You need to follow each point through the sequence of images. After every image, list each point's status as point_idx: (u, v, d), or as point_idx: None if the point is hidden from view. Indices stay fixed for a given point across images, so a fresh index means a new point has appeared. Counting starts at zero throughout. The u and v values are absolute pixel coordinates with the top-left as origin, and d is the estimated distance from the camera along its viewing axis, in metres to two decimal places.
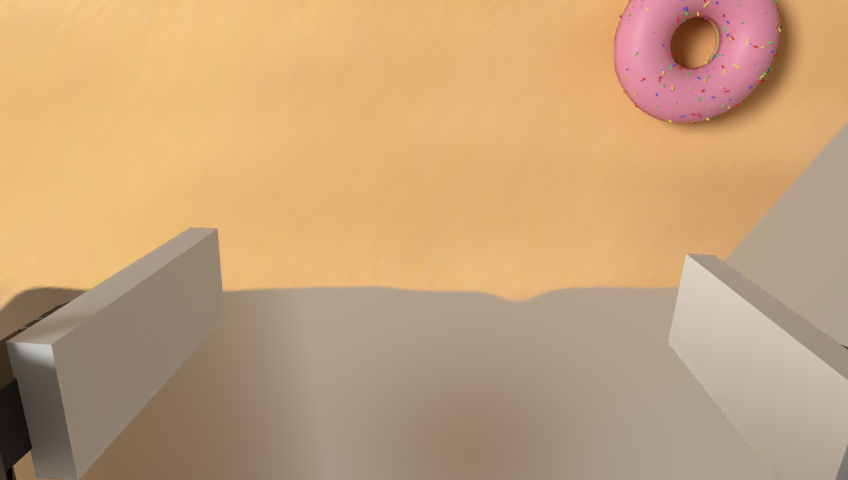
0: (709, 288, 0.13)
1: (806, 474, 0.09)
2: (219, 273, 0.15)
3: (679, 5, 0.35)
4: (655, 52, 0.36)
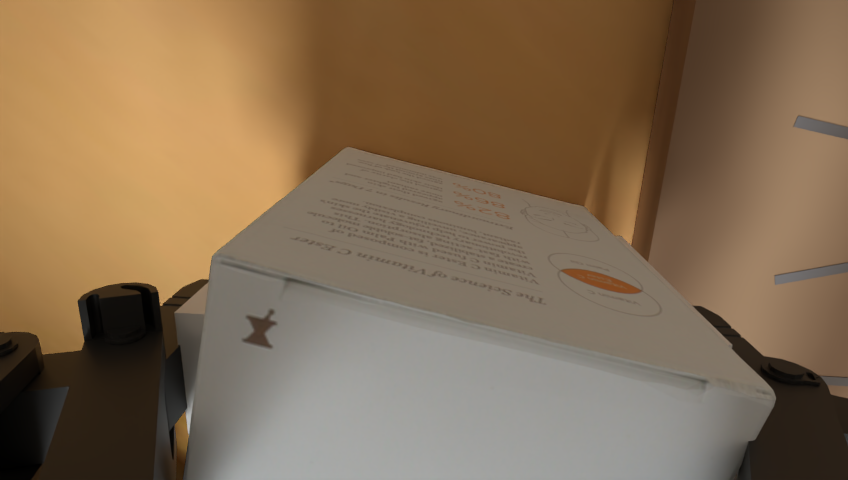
0: None
1: None
2: None
3: None
4: None
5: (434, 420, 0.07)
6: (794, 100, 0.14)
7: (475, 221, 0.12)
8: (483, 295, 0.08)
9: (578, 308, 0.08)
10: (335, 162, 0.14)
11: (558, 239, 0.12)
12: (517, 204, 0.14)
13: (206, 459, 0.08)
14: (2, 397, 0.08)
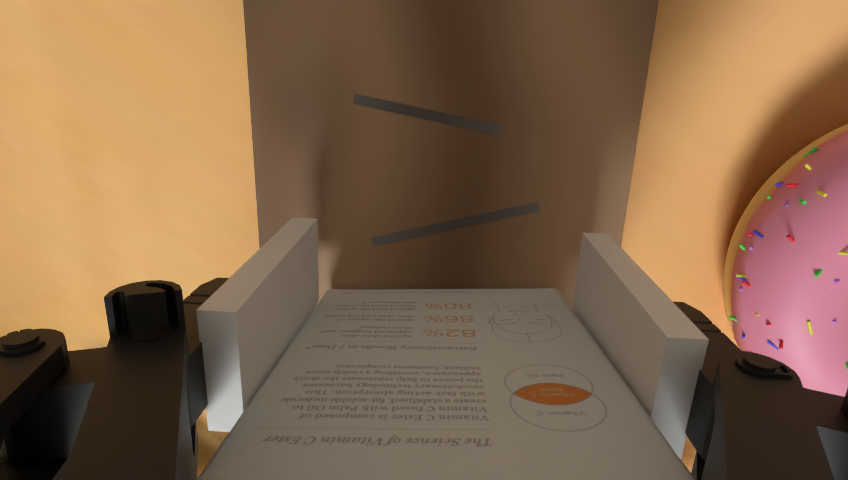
0: (593, 261, 0.15)
1: None
2: (316, 259, 0.17)
3: None
4: None
5: None
6: (348, 79, 0.16)
7: (440, 352, 0.13)
8: (433, 453, 0.09)
9: (522, 440, 0.09)
10: (314, 318, 0.15)
11: (519, 348, 0.13)
12: (486, 311, 0.16)
13: None
14: (29, 393, 0.08)
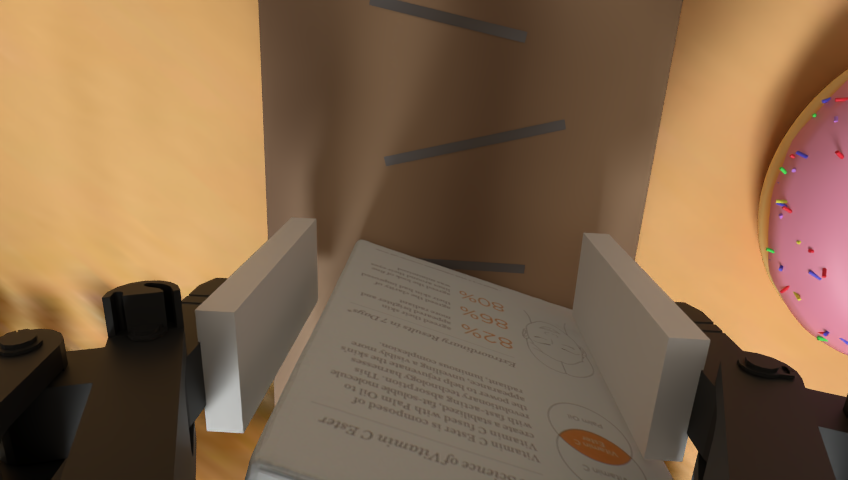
0: (594, 261, 0.15)
1: (640, 413, 0.11)
2: (315, 259, 0.17)
3: None
4: None
5: None
6: None
7: (481, 359, 0.12)
8: None
9: None
10: (351, 273, 0.14)
11: (556, 378, 0.13)
12: (519, 320, 0.15)
13: None
14: (27, 394, 0.08)
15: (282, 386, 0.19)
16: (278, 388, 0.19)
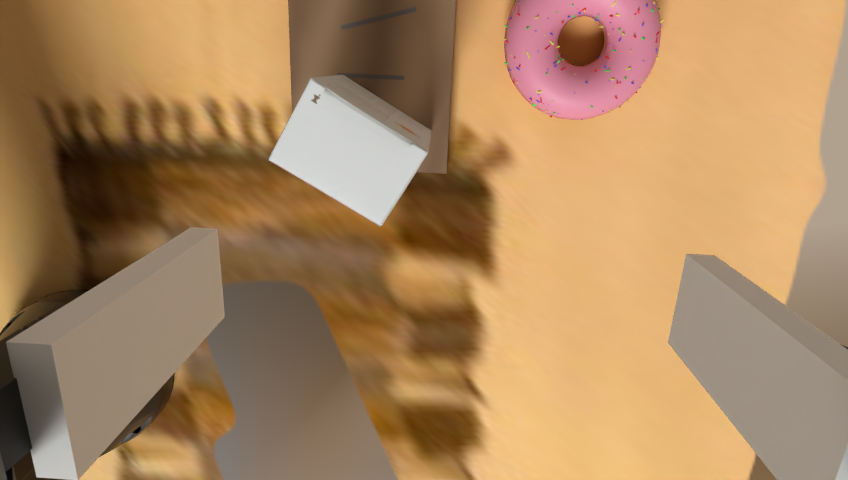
0: (709, 288, 0.13)
1: (806, 474, 0.09)
2: (219, 272, 0.15)
3: (552, 71, 0.37)
4: (592, 88, 0.37)
5: (348, 133, 0.30)
6: None
7: (379, 107, 0.35)
8: (369, 112, 0.31)
9: (393, 125, 0.32)
10: (338, 76, 0.37)
11: (405, 123, 0.35)
12: (400, 114, 0.38)
13: (290, 129, 0.31)
14: None
15: None
16: None
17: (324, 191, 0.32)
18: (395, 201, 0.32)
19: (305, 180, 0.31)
